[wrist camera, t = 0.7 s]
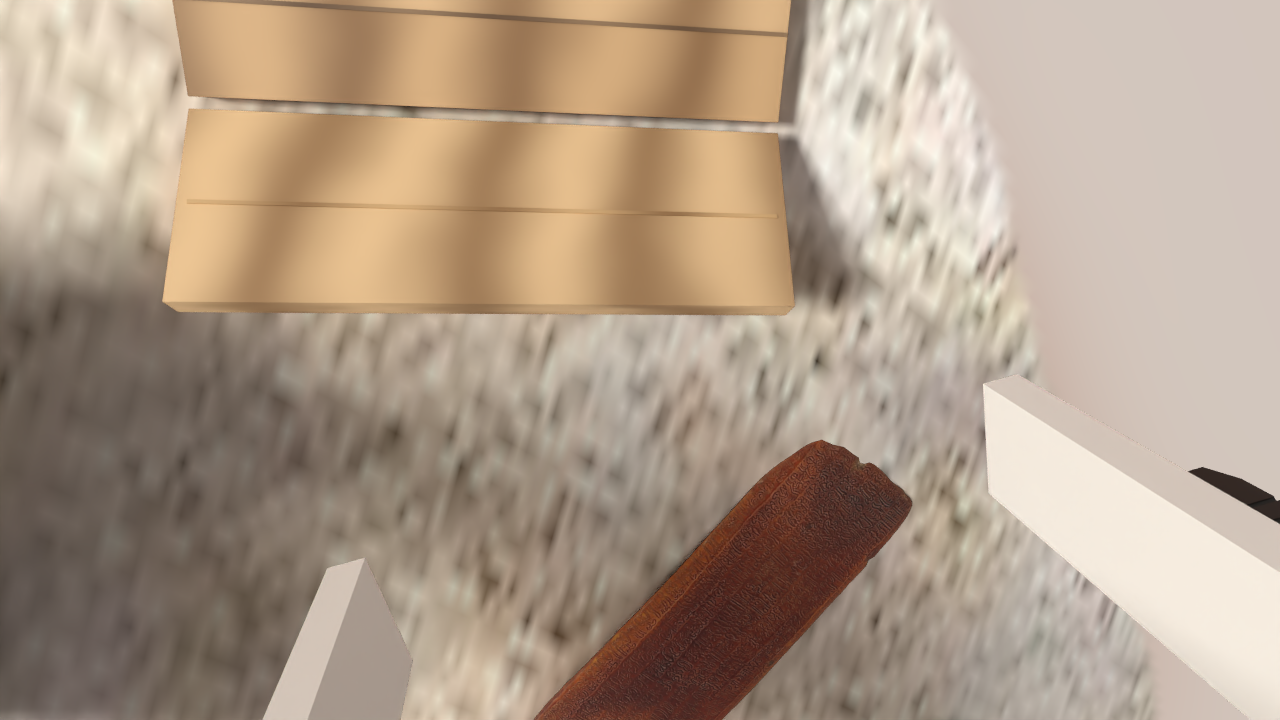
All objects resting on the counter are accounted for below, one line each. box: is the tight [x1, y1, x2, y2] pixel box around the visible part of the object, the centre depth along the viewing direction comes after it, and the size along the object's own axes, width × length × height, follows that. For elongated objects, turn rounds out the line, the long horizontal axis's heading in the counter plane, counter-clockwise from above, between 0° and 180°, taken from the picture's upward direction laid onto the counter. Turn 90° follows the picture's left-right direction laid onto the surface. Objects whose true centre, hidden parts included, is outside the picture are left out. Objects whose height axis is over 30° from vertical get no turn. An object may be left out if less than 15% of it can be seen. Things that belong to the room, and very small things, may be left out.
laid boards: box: [173, 0, 791, 122], centre depth 29 cm, size 24×7×1 cm, turn 87°
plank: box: [162, 109, 795, 315], centre depth 29 cm, size 24×8×1 cm
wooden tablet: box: [534, 440, 912, 720], centre depth 42 cm, size 27×10×2 cm, turn 139°
